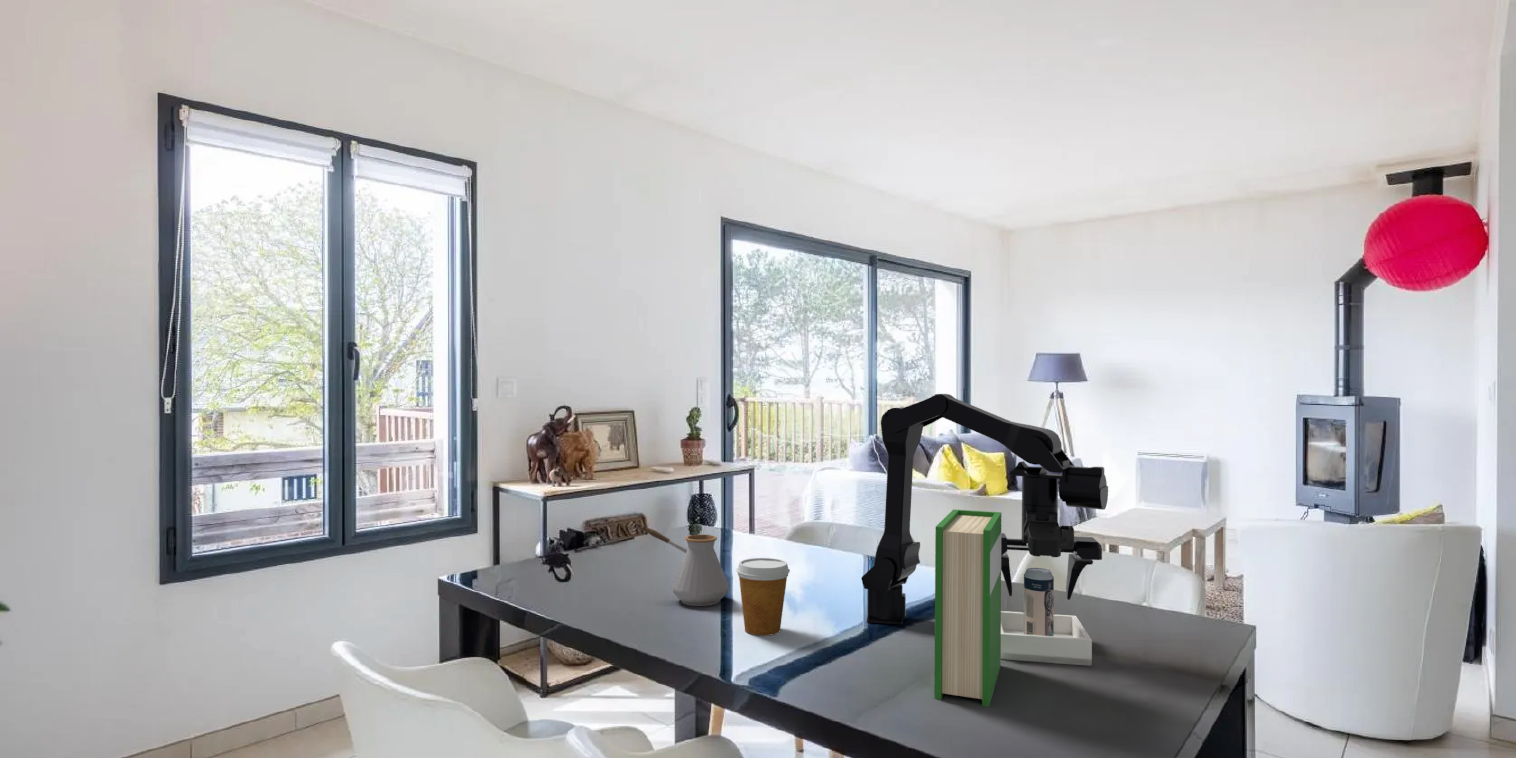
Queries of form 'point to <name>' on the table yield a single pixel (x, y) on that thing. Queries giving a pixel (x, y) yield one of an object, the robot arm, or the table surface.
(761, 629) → the disposable coffee cup
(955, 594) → the hardback book
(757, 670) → the table surface
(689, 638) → the table surface
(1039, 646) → the bin
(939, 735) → the table surface
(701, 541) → the coffee pot
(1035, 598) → the beer can
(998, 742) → the table surface
